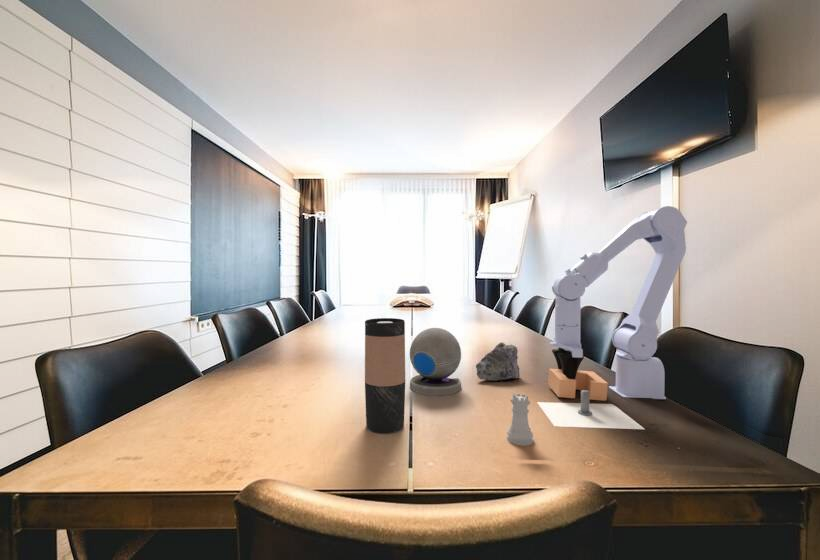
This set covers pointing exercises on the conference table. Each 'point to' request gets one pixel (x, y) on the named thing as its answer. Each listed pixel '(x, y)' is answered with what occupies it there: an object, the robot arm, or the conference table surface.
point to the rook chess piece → (520, 422)
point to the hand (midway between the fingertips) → (567, 380)
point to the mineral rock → (499, 364)
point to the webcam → (435, 362)
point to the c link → (577, 384)
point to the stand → (587, 414)
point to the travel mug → (385, 374)
